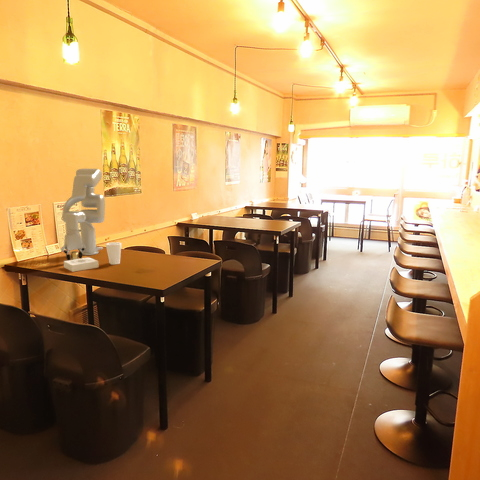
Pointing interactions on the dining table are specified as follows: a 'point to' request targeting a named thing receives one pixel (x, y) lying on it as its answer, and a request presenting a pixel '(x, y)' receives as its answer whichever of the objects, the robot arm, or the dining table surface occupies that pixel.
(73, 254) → the brass sleeve
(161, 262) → the dining table surface
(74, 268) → the plate
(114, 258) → the foam cup
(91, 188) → the robot arm
